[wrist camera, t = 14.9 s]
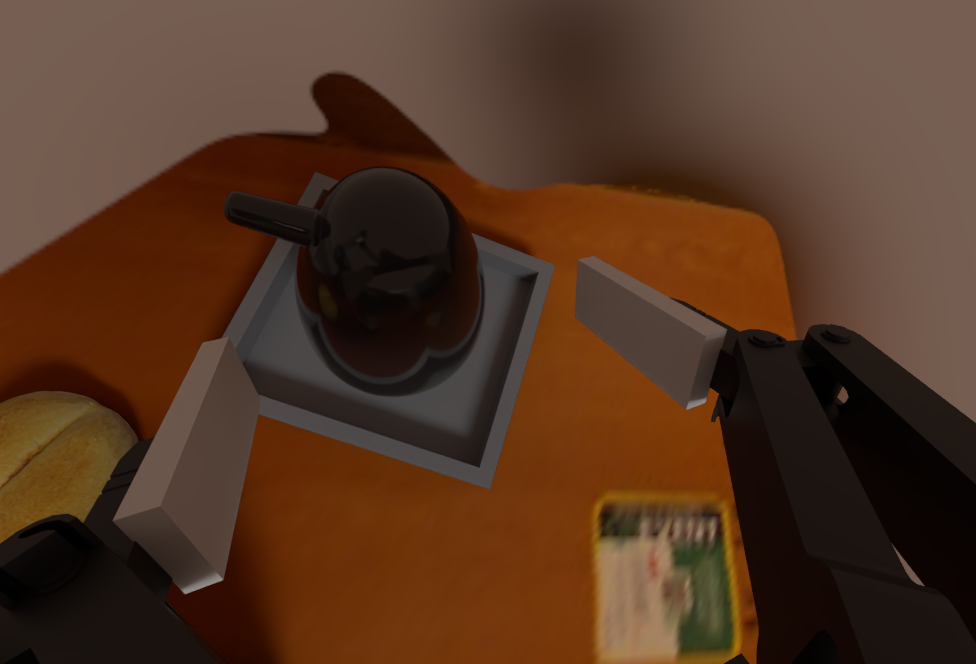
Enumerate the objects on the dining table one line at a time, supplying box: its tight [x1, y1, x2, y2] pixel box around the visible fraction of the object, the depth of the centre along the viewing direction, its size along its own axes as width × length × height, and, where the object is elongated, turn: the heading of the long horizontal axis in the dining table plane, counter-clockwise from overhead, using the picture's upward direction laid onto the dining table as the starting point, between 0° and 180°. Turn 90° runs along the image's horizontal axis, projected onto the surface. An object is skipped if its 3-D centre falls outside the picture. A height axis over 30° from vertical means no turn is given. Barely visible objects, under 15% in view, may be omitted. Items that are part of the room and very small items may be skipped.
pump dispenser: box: [224, 167, 486, 397], centre depth 20 cm, size 10×10×15 cm
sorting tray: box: [222, 172, 555, 489], centre depth 26 cm, size 18×16×3 cm
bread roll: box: [0, 391, 139, 543], centre depth 20 cm, size 8×9×4 cm
